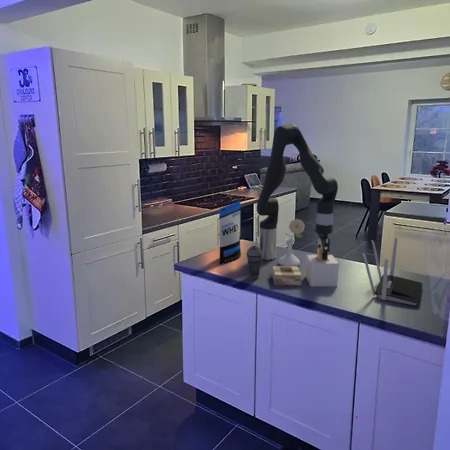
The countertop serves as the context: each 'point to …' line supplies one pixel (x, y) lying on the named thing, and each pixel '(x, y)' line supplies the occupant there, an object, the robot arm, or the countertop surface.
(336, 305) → the countertop surface
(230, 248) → the protein powder
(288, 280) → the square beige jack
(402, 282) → the wireless router
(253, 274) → the beverage cup
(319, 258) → the plug
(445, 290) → the countertop surface
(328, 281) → the white square socket block
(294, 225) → the flower in vase
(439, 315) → the countertop surface
